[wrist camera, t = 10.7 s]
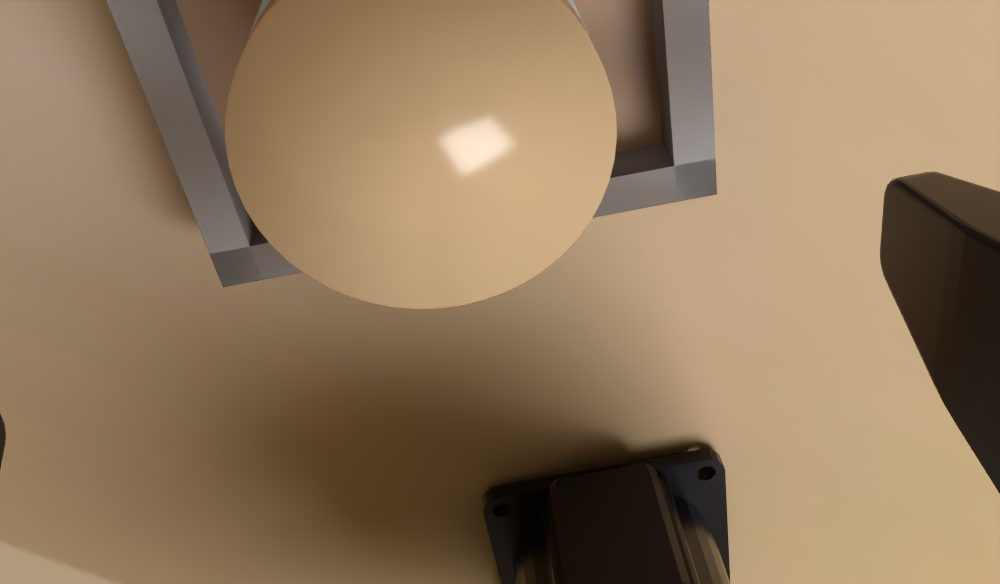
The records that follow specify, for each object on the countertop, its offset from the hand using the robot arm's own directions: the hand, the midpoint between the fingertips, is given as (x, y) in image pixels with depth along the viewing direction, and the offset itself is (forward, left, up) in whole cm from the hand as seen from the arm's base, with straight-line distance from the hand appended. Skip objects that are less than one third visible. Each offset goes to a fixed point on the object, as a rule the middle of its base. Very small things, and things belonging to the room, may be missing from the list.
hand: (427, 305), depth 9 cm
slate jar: (0, 0, -10) cm, 10 cm away
